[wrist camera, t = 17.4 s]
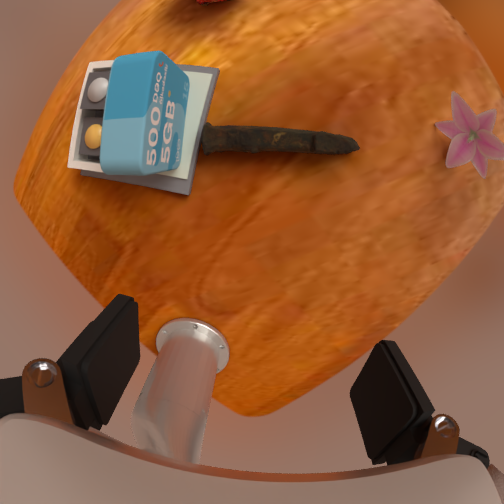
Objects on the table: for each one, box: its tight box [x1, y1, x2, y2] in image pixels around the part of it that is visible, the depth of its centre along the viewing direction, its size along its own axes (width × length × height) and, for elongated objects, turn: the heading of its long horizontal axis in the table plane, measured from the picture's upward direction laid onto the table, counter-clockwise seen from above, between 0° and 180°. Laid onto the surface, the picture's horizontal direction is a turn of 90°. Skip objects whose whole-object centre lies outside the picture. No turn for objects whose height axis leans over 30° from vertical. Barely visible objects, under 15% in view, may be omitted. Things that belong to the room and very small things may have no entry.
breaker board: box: [68, 60, 220, 195], centre depth 29 cm, size 17×18×4 cm
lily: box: [435, 91, 504, 179], centre depth 26 cm, size 12×12×10 cm
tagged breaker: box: [79, 117, 103, 156], centre depth 29 cm, size 5×5×3 cm
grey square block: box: [80, 71, 110, 111], centre depth 25 cm, size 5×5×3 cm
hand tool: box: [201, 122, 360, 155], centre depth 30 cm, size 19×4×5 cm, turn 86°
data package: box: [100, 51, 190, 176], centre depth 24 cm, size 12×4×12 cm, turn 173°
